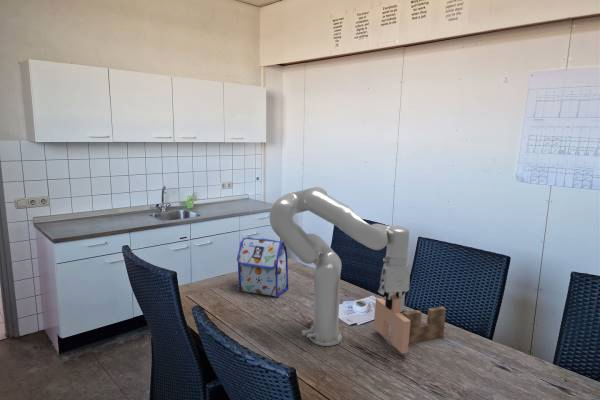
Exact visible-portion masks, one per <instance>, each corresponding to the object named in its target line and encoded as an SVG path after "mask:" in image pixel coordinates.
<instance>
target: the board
mask: <svg viewBox="0 0 600 400" xmlns="http://www.w3.org/2000/svg"><path fill="white" fill-rule="evenodd" d="M402 312H403V313H402V315H404V316H405V317H406V318H408V319H409V320H410V321H411V322H410V333H409V344H413V343H419V342H420V343H421V342H424V341H431V340H437V339H440V338H441V339H442V338H444V337H445V335H444V334H445V324H446V323H445V322H446V314H447V313H446V312H447V308H445V307H444V306H437V307H431V308H428V309H427V317H426V318H427V321H426V322H425V323H422V322H421V321H422V311H420V310H418V309H417V310H411V311H410V310H409V311H402Z"/></svg>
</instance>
